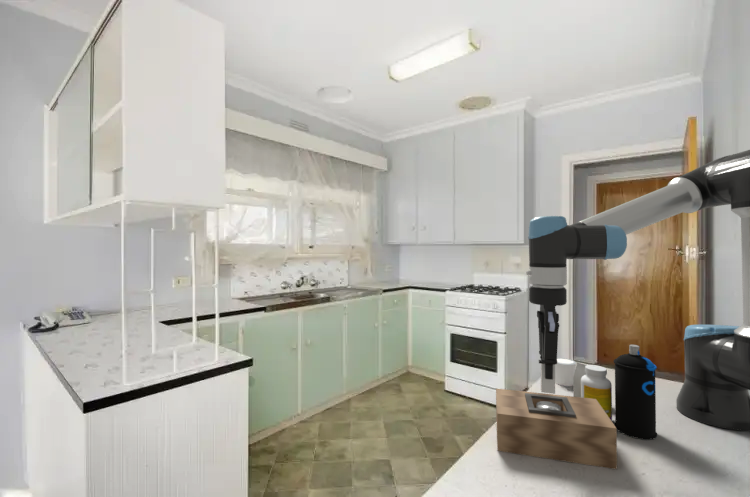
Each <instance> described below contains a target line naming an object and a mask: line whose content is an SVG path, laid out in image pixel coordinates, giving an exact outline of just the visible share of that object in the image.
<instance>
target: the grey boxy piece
mask: <svg viewBox="0 0 750 497" xmlns="http://www.w3.org/2000/svg"><path fill="white" fill-rule="evenodd" d="M586 365H587V364H584V363H581V362H576V369H575V373H574V377H573V386H572V387H573V388H572V389H573V396H572V397H581V378H582V376H584V375H586V372H585V366H586Z"/></svg>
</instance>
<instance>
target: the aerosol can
mask: <svg viewBox="0 0 750 497" xmlns="http://www.w3.org/2000/svg"><path fill="white" fill-rule="evenodd" d="M628 348H629V350H628V353H625V354H621V355H619V356H618V357H616V358H615V359H613V363H614V398H615V399H614V403H615V406H614V407H615V408H614V410H615V412H614V415H615V416H614V417H615V418H614V420H615V422H614V423H613V424H614V425H615V427H616V429H617V431H618V432H620V433H622V434H623V435H626V436H627V437H631V438H634V439H637V440H639V439H640V440H646V441H647V440H655V439H656V438H657V437H658V433H657V425H656V423H657V419H656V418H657V415H656V414H657V413H656V412H657V408H656V404H657V403H656V398H657V397H656V393H657V392H656V370H657V368H658V367H657V365H656V364H654V362H652V361H651V359H649V358H647V357H646V356H643V355H641V354H640V346H639V345H637V344H629V347H628Z"/></svg>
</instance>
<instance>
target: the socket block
mask: <svg viewBox="0 0 750 497" xmlns="http://www.w3.org/2000/svg"><path fill="white" fill-rule="evenodd" d="M540 401H548V402H553V403H556V404H558V405H559V406H560V407H561V411H558V410H550V409H541V408H536V403H537V402H540ZM495 410H496V412H495V413H496V414H495V415H496V416H495V418H496V422H497V423H496V424H495V425H496V444H497V451H498V452H504V453H509V454H517V455H523V456H529V457H536V458H541V459H548V460H555V461H560V462H561V461H562V462H567V463H568V462H569V463H574V464H580V465H586V466H593V467H594V466H595V467H599V468H607V469H614V470H618V459H617V458H618V454H617V453H618V452H617V450H618V448H617V445H618V444H617V442H618V441H617V440H618V439H617V438H618V437H617V436H618V435H617V433H618V432H617V431H618V430H617V429H616V427H615V425H614V423H613V420H612V421H611V420H610V418H609V417H608V415H607V414H606V413H605V411H604V410H603V408H602V407H601V405H600V404H599V403H598V401H597V400H596V399H592V398H582V397H573V396H571V395H562V394H553V393H544V392H534V391H533V392H532V391H524V390H523V391H522V390H516V389H515V390H513V389H505V388H504V389H503V388H495Z"/></svg>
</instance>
